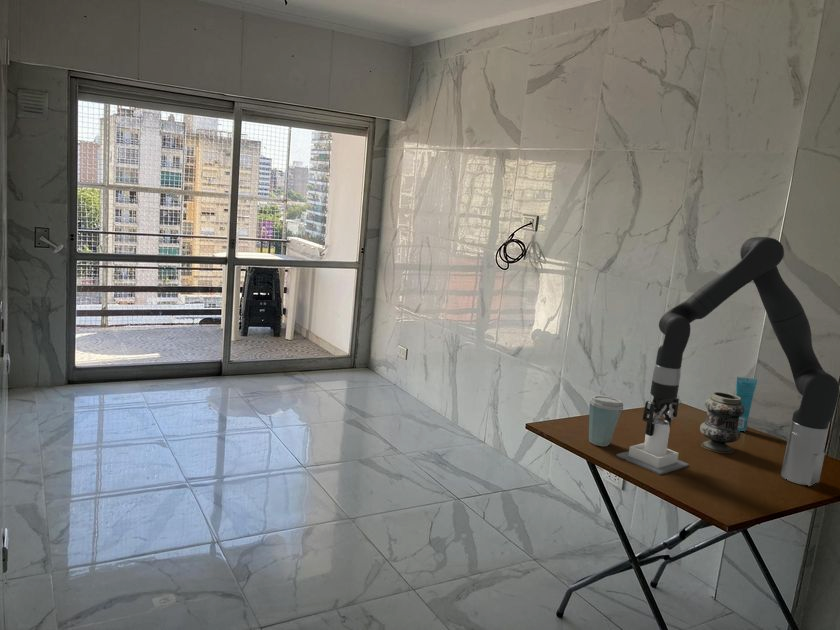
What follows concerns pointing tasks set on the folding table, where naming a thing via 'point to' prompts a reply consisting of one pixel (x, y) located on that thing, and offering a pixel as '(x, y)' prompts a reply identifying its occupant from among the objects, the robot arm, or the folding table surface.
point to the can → (658, 439)
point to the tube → (745, 398)
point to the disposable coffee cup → (603, 419)
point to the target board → (653, 459)
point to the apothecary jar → (721, 422)
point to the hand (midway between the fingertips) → (657, 433)
